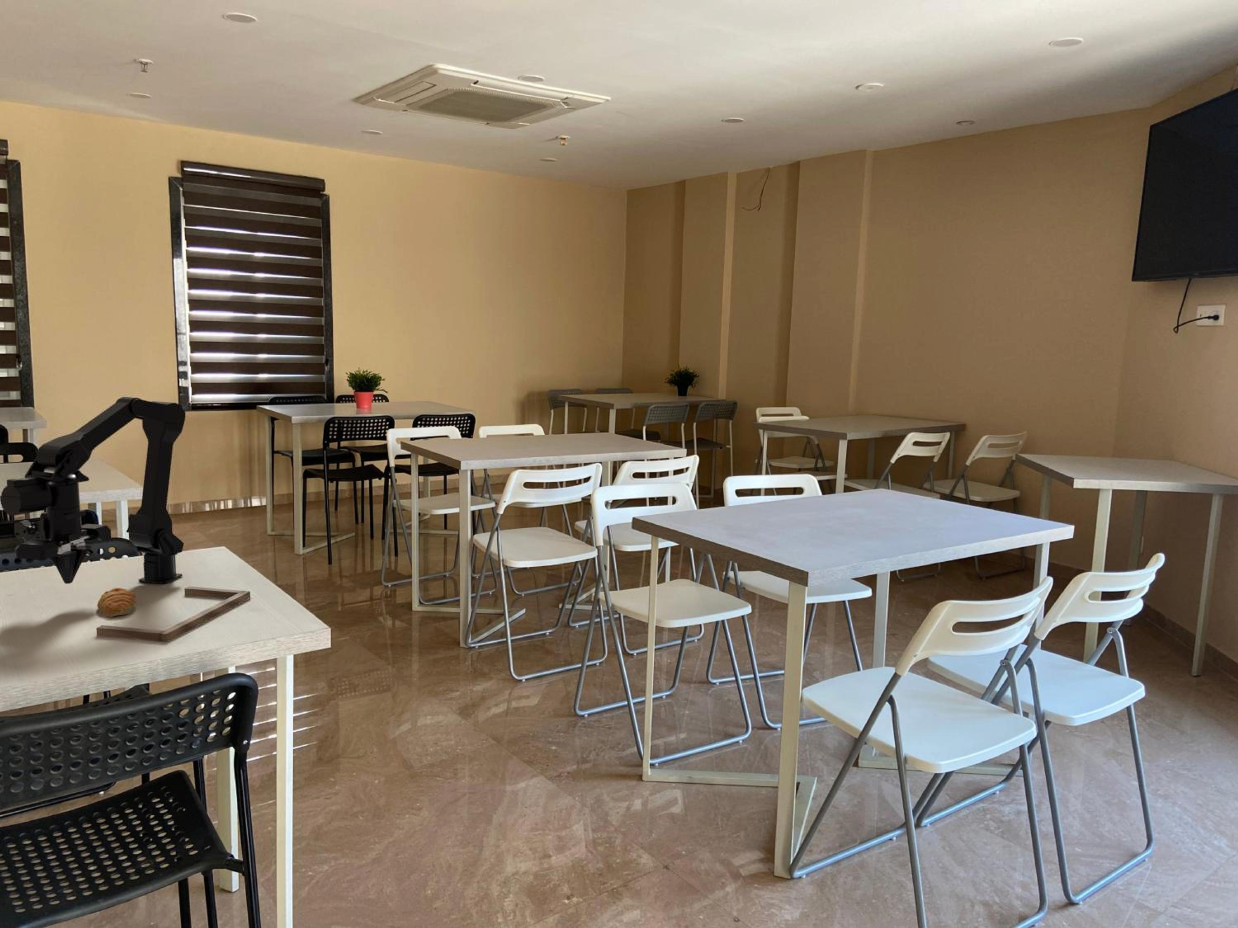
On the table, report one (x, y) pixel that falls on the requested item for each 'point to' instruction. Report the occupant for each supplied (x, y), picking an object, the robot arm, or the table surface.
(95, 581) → the table surface
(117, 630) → the walnut frame
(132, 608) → the pastry
